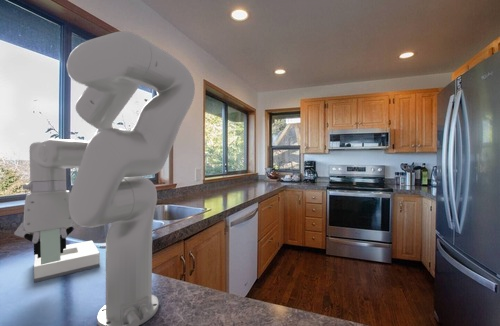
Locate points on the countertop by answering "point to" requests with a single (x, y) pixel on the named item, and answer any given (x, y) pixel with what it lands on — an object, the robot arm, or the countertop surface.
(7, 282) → the countertop surface
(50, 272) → the block
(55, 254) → the pale green block
